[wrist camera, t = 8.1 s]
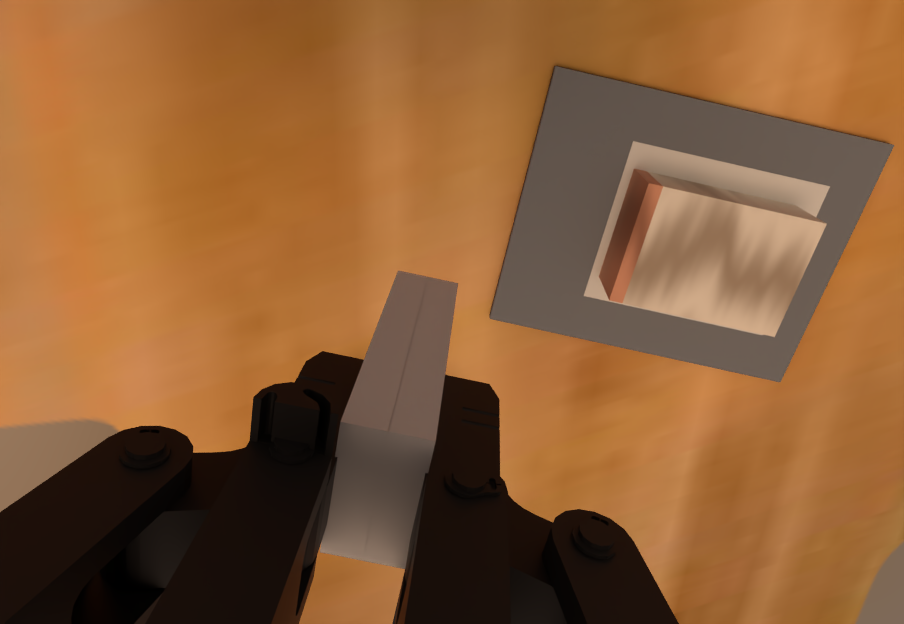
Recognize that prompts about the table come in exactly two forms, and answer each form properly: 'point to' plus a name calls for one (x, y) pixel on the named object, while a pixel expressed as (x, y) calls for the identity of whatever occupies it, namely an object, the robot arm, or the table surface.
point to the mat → (684, 157)
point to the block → (708, 253)
